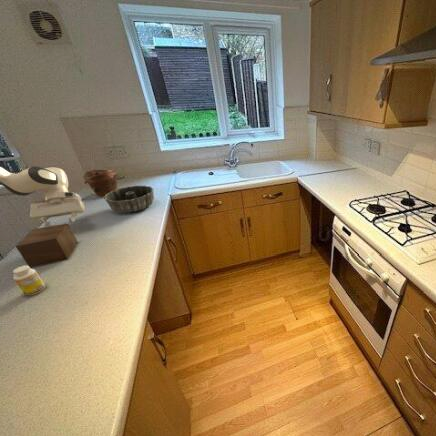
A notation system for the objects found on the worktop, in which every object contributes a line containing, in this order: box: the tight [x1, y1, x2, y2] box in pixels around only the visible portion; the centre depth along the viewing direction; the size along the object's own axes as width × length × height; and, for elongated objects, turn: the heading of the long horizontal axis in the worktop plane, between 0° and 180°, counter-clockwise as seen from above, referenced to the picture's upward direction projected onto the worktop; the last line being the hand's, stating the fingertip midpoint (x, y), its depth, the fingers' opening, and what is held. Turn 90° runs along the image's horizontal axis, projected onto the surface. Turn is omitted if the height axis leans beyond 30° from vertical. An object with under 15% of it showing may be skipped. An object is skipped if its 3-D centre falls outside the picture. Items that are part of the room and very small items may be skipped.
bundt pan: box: [103, 185, 155, 214], centre depth 150 cm, size 26×26×10 cm
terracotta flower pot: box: [83, 169, 118, 198], centre depth 170 cm, size 18×20×18 cm
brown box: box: [15, 223, 79, 268], centre depth 106 cm, size 15×13×11 cm
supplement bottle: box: [12, 264, 46, 296], centre depth 86 cm, size 6×6×10 cm
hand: (59, 223), depth 117 cm, fingers open, 8 cm apart
